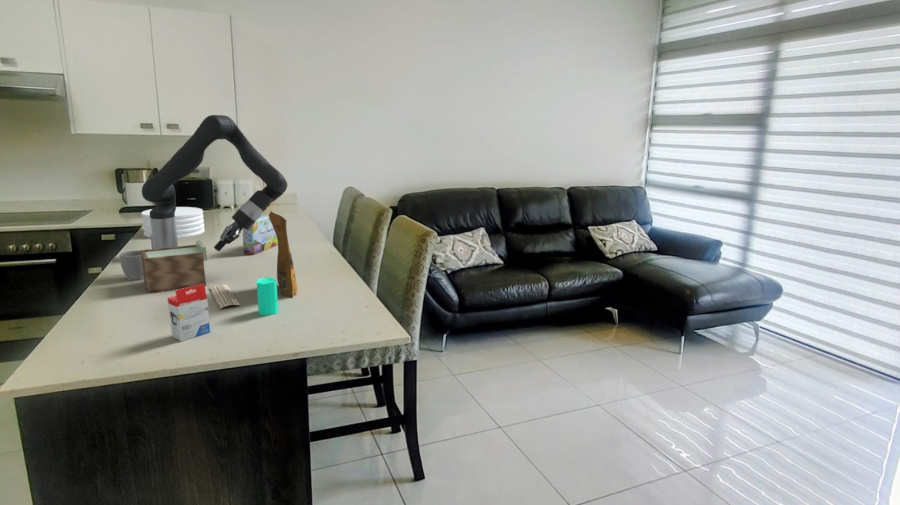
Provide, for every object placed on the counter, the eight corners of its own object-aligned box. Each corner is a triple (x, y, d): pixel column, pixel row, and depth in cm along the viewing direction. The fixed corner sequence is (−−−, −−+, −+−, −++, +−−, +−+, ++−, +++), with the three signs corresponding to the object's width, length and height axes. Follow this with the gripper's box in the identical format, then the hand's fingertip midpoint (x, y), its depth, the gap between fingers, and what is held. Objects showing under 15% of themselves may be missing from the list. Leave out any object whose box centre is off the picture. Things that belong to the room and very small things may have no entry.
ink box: (201, 328, 144) (196, 279, 141) (210, 332, 142) (206, 283, 138) (171, 337, 138) (165, 286, 134) (180, 342, 135) (175, 290, 131)
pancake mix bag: (280, 300, 169) (275, 218, 162) (272, 284, 185) (267, 209, 178) (300, 297, 172) (297, 217, 165) (290, 282, 188) (287, 208, 181)
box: (198, 275, 192) (195, 244, 189) (205, 285, 181) (202, 252, 178) (144, 282, 182) (140, 250, 179) (148, 293, 171) (144, 259, 168)
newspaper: (209, 290, 178) (209, 285, 178) (231, 287, 182) (230, 283, 181) (220, 311, 159) (220, 306, 159) (244, 308, 163) (243, 302, 162)
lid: (200, 253, 190) (199, 240, 189) (206, 260, 180) (205, 247, 179) (145, 258, 180) (144, 245, 178) (149, 267, 170) (147, 252, 169)
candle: (261, 308, 161) (259, 272, 158) (280, 308, 161) (278, 273, 158) (256, 315, 155) (253, 278, 152) (275, 315, 156) (273, 278, 153)
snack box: (254, 255, 223) (252, 222, 220) (243, 254, 224) (240, 221, 221) (279, 245, 244) (277, 214, 240) (268, 244, 245) (267, 213, 241)
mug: (149, 280, 185) (146, 255, 182) (121, 282, 181) (118, 257, 178) (150, 271, 195) (147, 247, 193) (124, 274, 191) (120, 249, 188)
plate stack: (130, 236, 251) (127, 214, 248) (170, 226, 277) (167, 205, 275) (180, 240, 246) (178, 217, 243) (215, 229, 273) (214, 208, 270)
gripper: (235, 206, 194) (204, 240, 190) (244, 211, 183) (211, 247, 179) (251, 218, 198) (220, 251, 194) (260, 223, 188) (228, 259, 184)
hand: (216, 249), depth 187 cm, fingers closed
